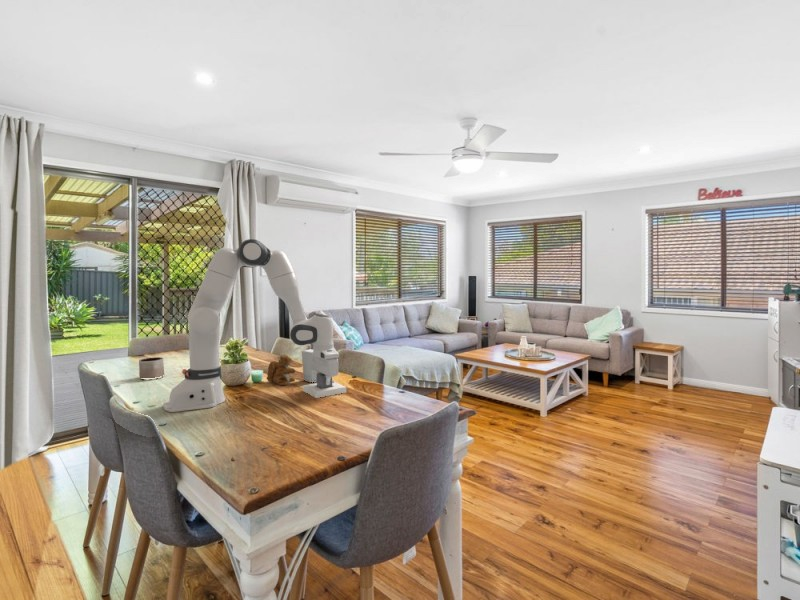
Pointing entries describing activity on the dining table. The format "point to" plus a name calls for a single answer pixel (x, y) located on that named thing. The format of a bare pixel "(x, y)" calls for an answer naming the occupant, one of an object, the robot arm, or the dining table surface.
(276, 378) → the stuffed squirrel
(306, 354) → the skincare box
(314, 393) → the socket plate
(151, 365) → the planter
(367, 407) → the dining table surface
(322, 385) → the plug
